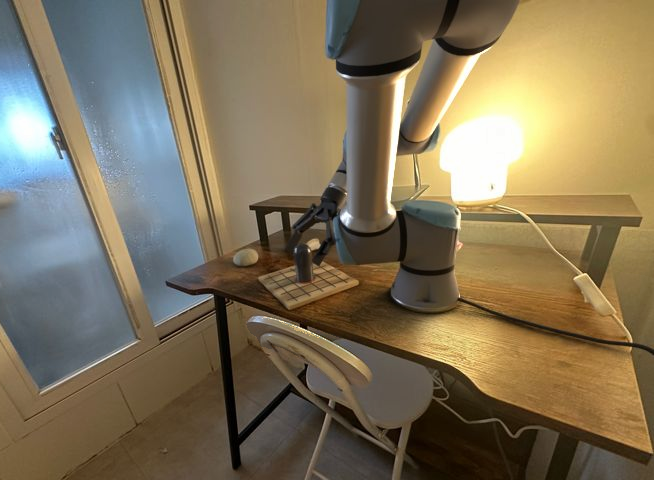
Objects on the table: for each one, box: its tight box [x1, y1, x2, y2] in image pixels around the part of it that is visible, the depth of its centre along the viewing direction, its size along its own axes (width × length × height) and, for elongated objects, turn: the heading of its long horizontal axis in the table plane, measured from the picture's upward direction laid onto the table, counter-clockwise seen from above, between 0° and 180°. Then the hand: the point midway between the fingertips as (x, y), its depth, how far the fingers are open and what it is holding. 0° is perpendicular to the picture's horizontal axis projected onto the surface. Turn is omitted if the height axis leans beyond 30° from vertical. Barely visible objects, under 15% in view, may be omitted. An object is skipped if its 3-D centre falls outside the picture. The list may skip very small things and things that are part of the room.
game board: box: [257, 260, 360, 311], centre depth 90 cm, size 22×22×1 cm
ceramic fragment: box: [305, 238, 322, 252], centre depth 112 cm, size 14×5×4 cm, turn 143°
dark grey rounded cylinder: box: [292, 242, 314, 282], centre depth 88 cm, size 5×5×11 cm
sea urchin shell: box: [232, 248, 259, 268], centre depth 110 cm, size 9×8×8 cm
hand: (300, 257), depth 86 cm, fingers open, 13 cm apart
